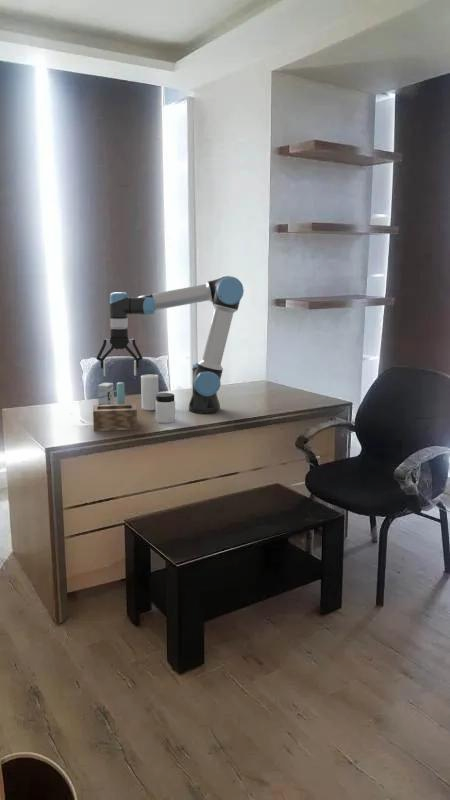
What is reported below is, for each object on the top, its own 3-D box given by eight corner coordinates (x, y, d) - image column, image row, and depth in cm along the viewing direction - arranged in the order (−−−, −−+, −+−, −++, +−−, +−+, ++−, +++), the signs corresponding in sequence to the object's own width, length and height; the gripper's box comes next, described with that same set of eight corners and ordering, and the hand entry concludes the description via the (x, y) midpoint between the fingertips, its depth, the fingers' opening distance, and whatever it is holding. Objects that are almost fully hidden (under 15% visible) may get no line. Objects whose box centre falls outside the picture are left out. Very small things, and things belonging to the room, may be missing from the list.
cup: (161, 407, 300) (161, 375, 297) (152, 410, 293) (152, 377, 290) (147, 405, 304) (146, 373, 300) (138, 409, 296) (137, 376, 293)
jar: (166, 417, 281) (165, 391, 278) (178, 420, 276) (178, 394, 273) (151, 421, 274) (151, 394, 271) (164, 424, 269) (164, 397, 266)
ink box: (107, 410, 294) (107, 385, 291) (98, 409, 294) (97, 385, 292) (114, 406, 302) (113, 382, 299) (105, 405, 303) (104, 382, 300)
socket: (135, 422, 271) (135, 403, 270) (137, 429, 260) (136, 409, 258) (93, 423, 268) (93, 404, 266) (93, 431, 256) (93, 411, 254)
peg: (126, 417, 280) (125, 382, 277) (122, 418, 277) (122, 384, 274) (119, 416, 281) (118, 382, 278) (116, 418, 278) (115, 383, 275)
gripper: (146, 327, 277) (147, 373, 281) (90, 327, 272) (91, 374, 276) (148, 328, 269) (148, 376, 274) (90, 328, 264) (91, 377, 269)
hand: (119, 375), depth 275 cm, fingers open, 13 cm apart
